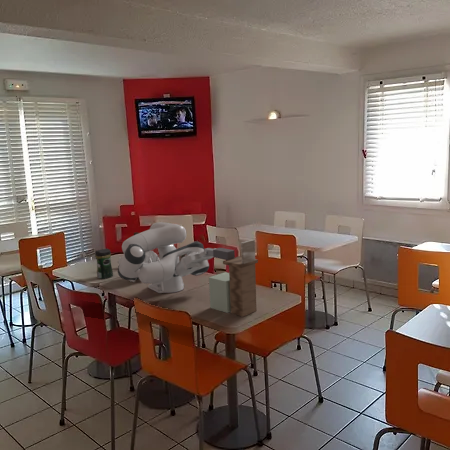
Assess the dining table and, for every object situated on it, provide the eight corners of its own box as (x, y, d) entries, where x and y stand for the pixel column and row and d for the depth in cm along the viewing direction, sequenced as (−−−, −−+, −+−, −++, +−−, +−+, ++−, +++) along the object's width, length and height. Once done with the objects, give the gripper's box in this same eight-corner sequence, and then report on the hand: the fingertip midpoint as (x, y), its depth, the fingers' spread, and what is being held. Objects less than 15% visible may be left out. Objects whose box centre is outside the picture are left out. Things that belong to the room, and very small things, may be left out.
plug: (202, 255, 237) (202, 247, 236) (209, 253, 241) (209, 245, 240) (227, 260, 225) (227, 252, 224) (234, 258, 228) (234, 250, 227)
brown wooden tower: (225, 312, 228) (222, 240, 221) (241, 305, 236) (238, 236, 230) (243, 317, 219) (240, 243, 213) (259, 310, 228) (257, 239, 222)
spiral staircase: (162, 281, 299) (129, 289, 281) (146, 266, 309) (114, 272, 291) (169, 258, 291) (136, 264, 273) (153, 243, 301) (120, 248, 283)
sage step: (210, 307, 235) (208, 277, 232) (226, 301, 243) (225, 272, 241) (227, 312, 227) (225, 281, 224) (243, 306, 235) (242, 275, 232)
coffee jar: (108, 274, 305) (106, 247, 302) (114, 276, 300) (112, 248, 296) (95, 277, 299) (92, 249, 296) (101, 280, 293) (98, 251, 290)
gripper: (211, 261, 253) (226, 252, 243) (182, 270, 239) (197, 260, 229) (207, 251, 254) (221, 241, 244) (178, 259, 240) (192, 249, 230)
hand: (209, 251), depth 237 cm, fingers closed on plug, 3 cm apart
